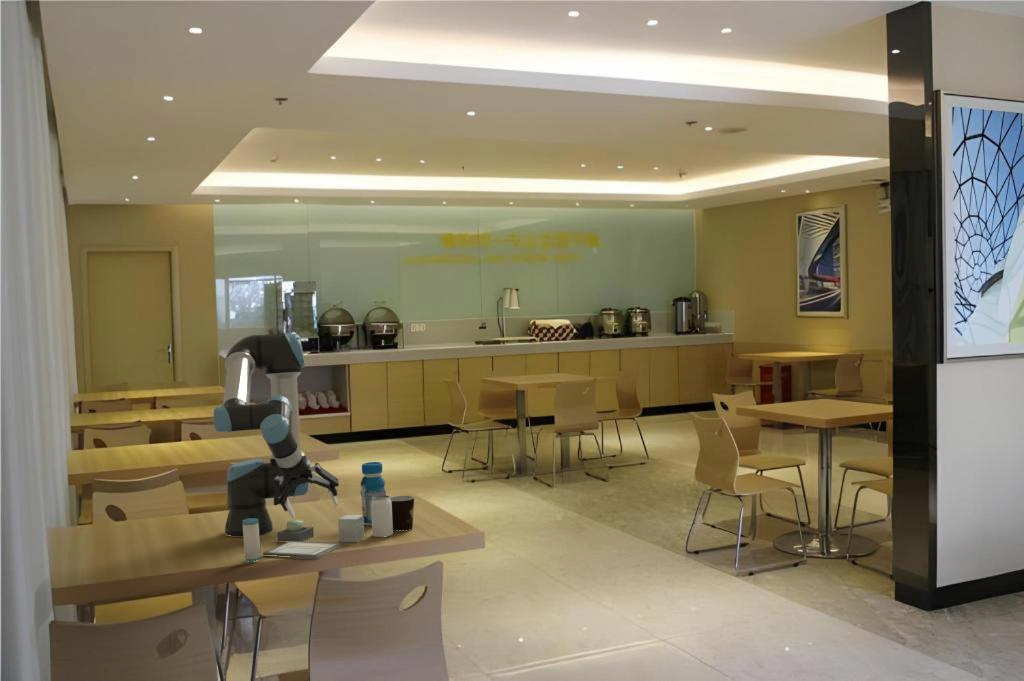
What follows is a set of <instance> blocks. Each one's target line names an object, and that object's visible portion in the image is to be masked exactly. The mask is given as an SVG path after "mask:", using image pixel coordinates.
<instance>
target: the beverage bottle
mask: <svg viewBox="0 0 1024 681" xmlns="http://www.w3.org/2000/svg"><path fill="white" fill-rule="evenodd" d="M361 472H362V475H363V477H362V478H361V481H360V487H361V489H360V496H361V508H362V510H361V511H362V513H361V514H362V515H363V520H364V526H372V518H371V501H372V498H373V497H376V496H387V488H386V487H385V485H386V480H385V478H384V477H383V476H382V473H383V463H382V462H380V461H370V462H364V463H362V464H361Z"/></svg>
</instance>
